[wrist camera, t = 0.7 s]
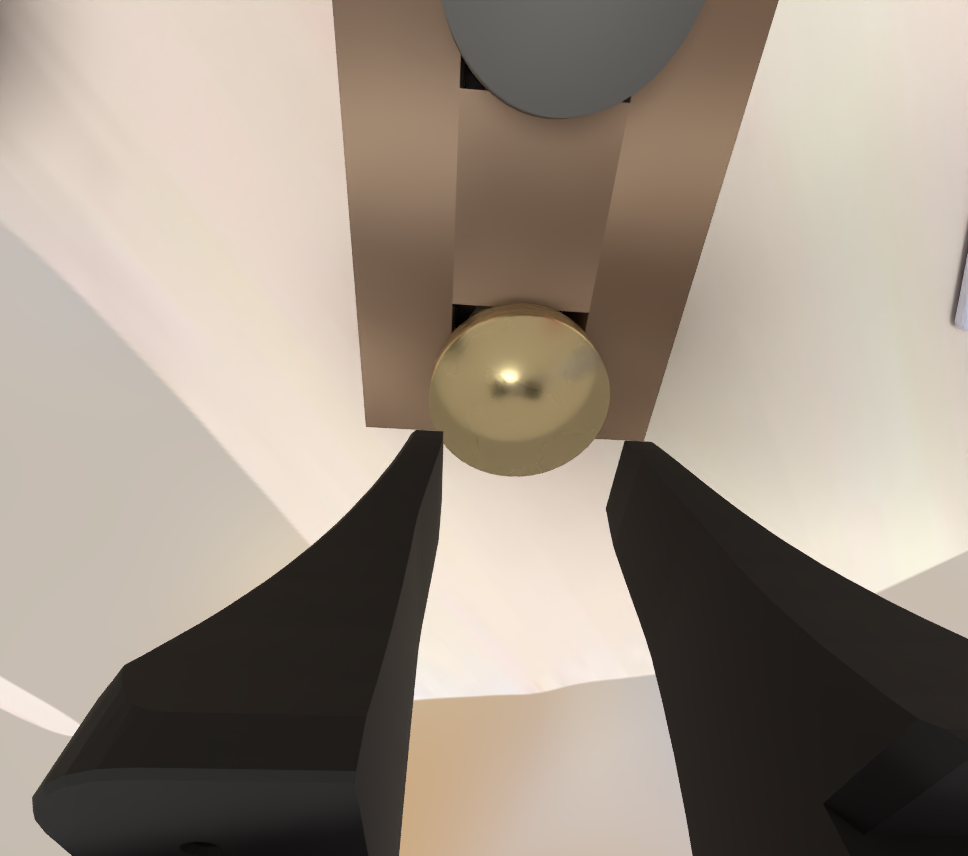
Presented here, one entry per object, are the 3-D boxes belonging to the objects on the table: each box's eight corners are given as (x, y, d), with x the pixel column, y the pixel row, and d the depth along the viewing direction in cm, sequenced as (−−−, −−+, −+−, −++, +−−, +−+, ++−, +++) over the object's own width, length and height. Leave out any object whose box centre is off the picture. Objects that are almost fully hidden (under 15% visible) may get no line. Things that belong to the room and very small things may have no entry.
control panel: (313, -1071, 7) (157, -2221, 4) (948, -943, 7) (1343, -1846, 4) (385, 376, 20) (366, 426, 16) (615, 390, 20) (643, 441, 17)
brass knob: (441, 266, 16) (429, 311, 12) (591, 276, 16) (629, 324, 12) (438, 399, 19) (428, 472, 15) (566, 405, 19) (591, 480, 15)
